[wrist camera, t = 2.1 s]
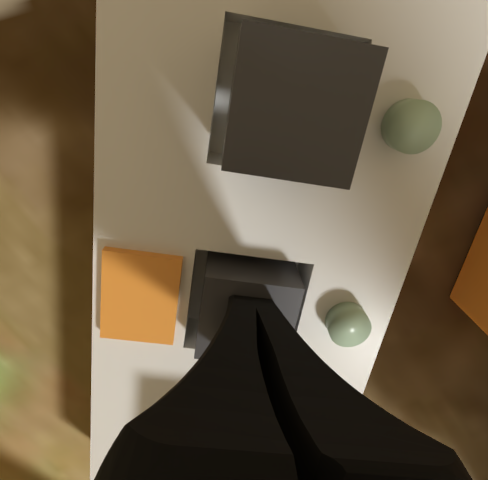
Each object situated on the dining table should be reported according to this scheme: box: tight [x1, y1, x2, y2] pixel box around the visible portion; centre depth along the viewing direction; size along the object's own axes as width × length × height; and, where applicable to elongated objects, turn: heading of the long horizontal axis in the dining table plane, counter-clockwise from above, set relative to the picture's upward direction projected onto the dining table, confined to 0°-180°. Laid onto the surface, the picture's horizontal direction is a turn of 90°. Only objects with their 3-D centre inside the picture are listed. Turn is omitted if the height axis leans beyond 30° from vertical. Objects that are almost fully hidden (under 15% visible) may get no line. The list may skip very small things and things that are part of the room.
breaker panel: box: [90, 0, 488, 480], centre depth 14 cm, size 10×22×3 cm, turn 171°
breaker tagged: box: [194, 251, 305, 359], centre depth 13 cm, size 3×3×2 cm
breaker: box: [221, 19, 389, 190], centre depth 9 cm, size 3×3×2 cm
